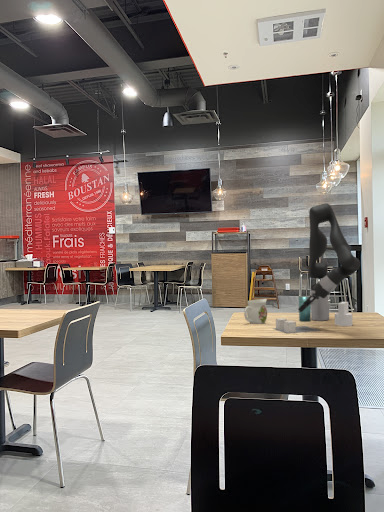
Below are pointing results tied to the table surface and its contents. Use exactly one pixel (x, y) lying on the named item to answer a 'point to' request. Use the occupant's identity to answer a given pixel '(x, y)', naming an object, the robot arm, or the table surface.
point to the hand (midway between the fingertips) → (301, 309)
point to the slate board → (300, 329)
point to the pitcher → (256, 311)
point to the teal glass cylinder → (306, 313)
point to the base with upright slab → (343, 315)
